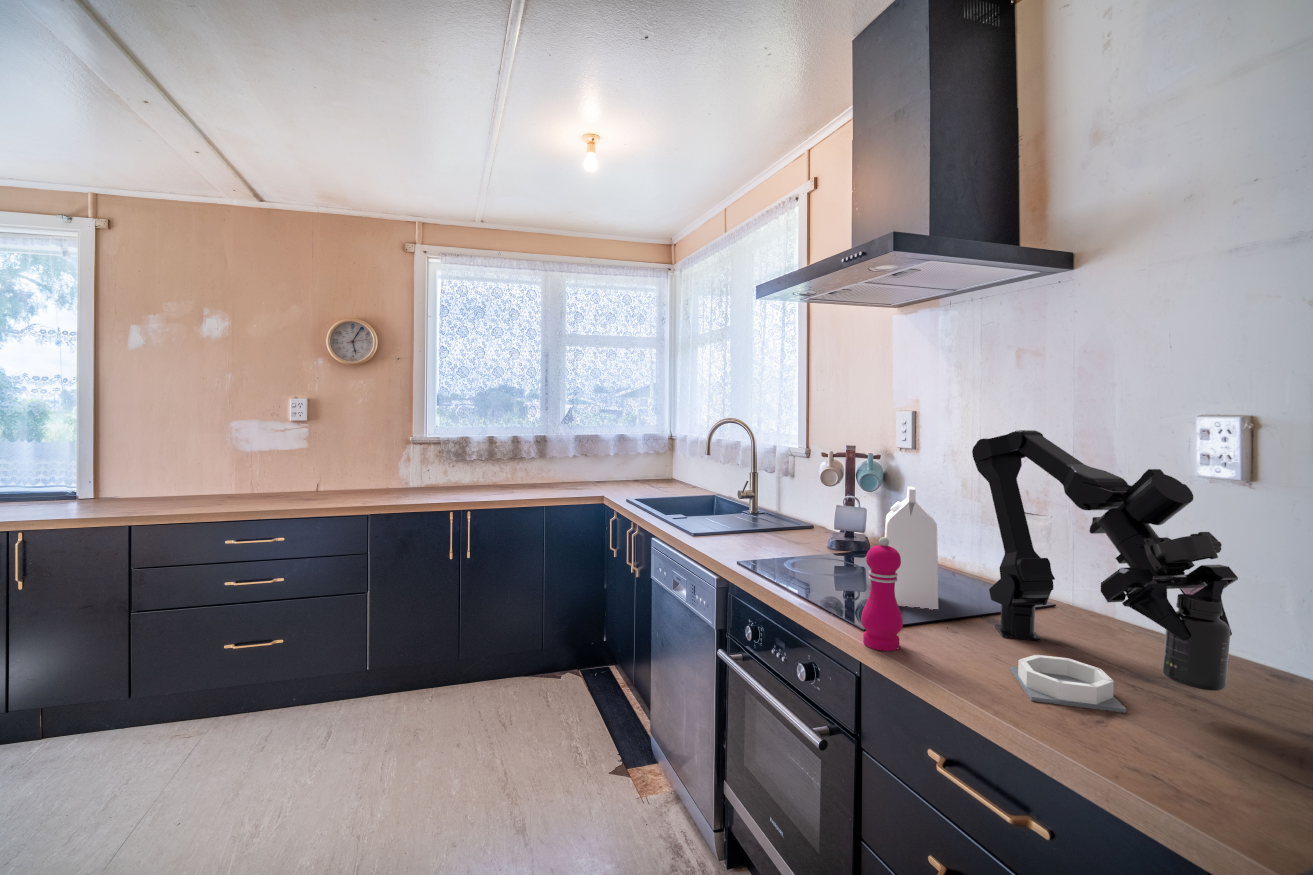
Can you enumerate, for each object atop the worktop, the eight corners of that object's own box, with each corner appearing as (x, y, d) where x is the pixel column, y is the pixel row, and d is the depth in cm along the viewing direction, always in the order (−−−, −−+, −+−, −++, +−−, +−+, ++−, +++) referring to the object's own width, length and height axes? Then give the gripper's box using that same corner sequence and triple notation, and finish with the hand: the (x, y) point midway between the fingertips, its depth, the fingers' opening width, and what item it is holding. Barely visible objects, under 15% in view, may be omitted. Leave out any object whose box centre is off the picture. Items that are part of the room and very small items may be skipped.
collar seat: (1009, 669, 103) (1010, 651, 103) (1093, 679, 99) (1093, 660, 99) (1031, 700, 91) (1032, 680, 91) (1126, 712, 88) (1127, 691, 88)
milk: (938, 609, 135) (941, 492, 134) (882, 604, 139) (885, 489, 138) (932, 595, 147) (936, 486, 146) (881, 590, 150) (884, 484, 149)
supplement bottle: (1194, 673, 91) (1202, 592, 90) (1239, 693, 84) (1248, 606, 84) (1149, 670, 90) (1156, 589, 90) (1191, 690, 84) (1199, 603, 83)
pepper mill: (852, 640, 115) (855, 534, 115) (883, 636, 118) (886, 532, 117) (878, 654, 109) (881, 541, 108) (910, 649, 111) (914, 539, 111)
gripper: (1122, 512, 89) (1198, 613, 78) (1227, 511, 92) (1313, 607, 82) (1073, 554, 97) (1136, 650, 86) (1171, 551, 100) (1243, 643, 90)
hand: (1207, 637), depth 86 cm, fingers closed on supplement bottle, 7 cm apart
